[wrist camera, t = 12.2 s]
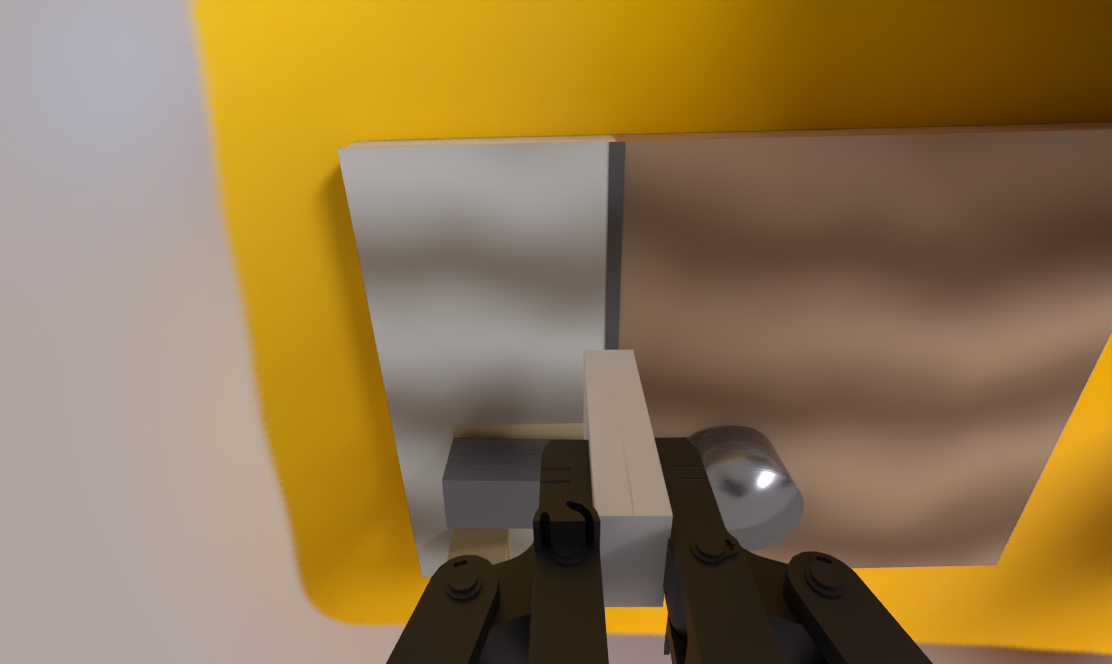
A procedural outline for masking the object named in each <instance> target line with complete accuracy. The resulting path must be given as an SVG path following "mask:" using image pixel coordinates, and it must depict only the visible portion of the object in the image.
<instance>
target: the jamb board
mask: <svg viewBox="0 0 1112 664" xmlns="http://www.w3.org/2000/svg"><path fill="white" fill-rule="evenodd" d="M337 150H338V155H339V160H340V166H341V171H342V176H343V181H344V186H345V191H346V196H347V201H348V206H349V211H350V216H351V221H352V226H353V231H354V236H355V241H356V246H357V251H358V256H359V262H360V267H361V272H362V277H363V282H364V287H365V292H366V297H367V302H368V307H369V312H370V317H371V322H372V327H373V332H374V337H375V342H376V347H377V352H378V358H379V363H380V368H381V373H382V378H383V383H384V388H385V393H386V398H387V403H388V408H389V413H390V418H391V423H392V428H393V433H394V438H395V443H396V449H397V454H398V459H399V464H400V469H401V474H402V479H403V484H404V489H405V494H406V499H407V504H408V509H409V514H410V519H411V524H412V529H413V534H414V539H415V545H416V550H417V555H418V560H419V565H420V570H421V575H422V577H432V576H433V574H434V573H435V572H436V571H437V569H438V568H439V567H440V566H441V565H442V564H444V563H445V562H447V561H448V560H450V559H451V558H455V557H458V556H461V555H478V556H480V557H483V558H485V559H488V560H489V561H490V563H491V564H492V565H494V564H497V563H500V562H504V561H507V560H510V559H512V558H515V557H517V556H519V555H520V554H522V553H523V552H525V551H526V550H527V549H528V548H529V547H530V546H531V545H532V543H533V541H534V538H533V529H501V528H446V517H445V507H444V497H443V487H442V478H443V474H444V470H445V467H446V463H447V459H448V456H449V452H450V448H451V444H452V441H453V438H512V439H584V350H633V351H634V356H635V360H636V364H637V368H638V372H639V377H640V381H641V385H642V389H643V393H644V397H645V402H646V406H647V410H648V414H649V418H650V422H651V427H652V431H653V435H654V438H673V437H686V438H687V439H688V440H689V441H695V440H696V439H697V438H698V437H700V436H701V435H703V434H705V433H707V432H709V431H711V430H714V429H717V428H721V427H726V426H744V427H749V428H752V429H755V430H757V431H759V432H761V433H763V434H764V435H765V436H766V437H767V438H768V439H769V440H770V441H771V443H772V444H773V446H774V448H775V449H776V451H777V453H778V455H779V456H780V458H781V460H782V461H783V463H784V465H785V467H786V468H787V470H788V472H789V473H790V475H791V477H792V479H793V480H794V482H795V484H796V485H797V487H798V489H799V491H800V492H801V494H802V497H803V500H804V512H803V516H802V518H801V520H800V522H799V524H798V525H797V527H796V528H795V529H794V530H793V531H792V532H791V533H790V534H789V535H788V536H787V537H786V538H784V539H783V540H781V541H780V542H778V543H776V544H774V545H772V546H769V547H767V548H764V549H761V550H756V551H750V552H751V553H753V554H756V555H759V556H762V557H765V558H768V559H772V560H776V561H780V562H783V563H787V564H788V563H789V562H790V560H791V559H792V557H793V556H795V555H797V554H799V553H801V552H808V551H817V552H821V553H825V554H829V555H831V556H833V557H835V558H837V559H839V560H841V561H842V562H844V563H845V564H846V565H847V566H849V567H850V568H879V567H927V566H975V565H996V564H997V562H998V560H999V558H1000V556H1001V554H1002V552H1003V550H1004V548H1005V546H1006V544H1007V542H1008V540H1009V538H1010V536H1011V534H1012V532H1013V530H1014V528H1015V526H1016V524H1017V522H1018V519H1019V517H1020V515H1021V513H1022V511H1023V509H1024V507H1025V505H1026V503H1027V501H1028V499H1029V497H1030V495H1031V493H1032V491H1033V489H1034V487H1035V485H1036V483H1037V481H1038V479H1039V477H1040V475H1041V473H1042V471H1043V469H1044V467H1045V465H1046V463H1047V461H1048V459H1049V457H1050V455H1051V453H1052V451H1053V449H1054V447H1055V445H1056V443H1057V441H1058V439H1059V437H1060V435H1061V433H1062V431H1063V429H1064V427H1065V425H1066V423H1067V421H1068V419H1069V417H1070V415H1071V413H1072V411H1073V409H1074V407H1075V405H1076V403H1077V401H1078V399H1079V397H1080V395H1081V393H1082V391H1083V389H1084V387H1085V385H1086V383H1087V381H1088V379H1089V377H1090V375H1091V373H1092V371H1093V369H1094V367H1095V365H1096V363H1097V361H1098V359H1099V357H1100V355H1101V352H1102V350H1103V348H1104V346H1105V344H1106V342H1107V340H1108V338H1109V336H1110V334H1111V332H1112V122H1094V123H1055V124H1015V125H976V126H936V127H897V128H857V129H818V130H778V131H739V132H699V133H660V134H620V135H581V136H541V137H502V138H462V139H423V140H384V141H357V142H354V143H351V144H349V145H346V146H343V147H341V148H338V149H337Z"/></svg>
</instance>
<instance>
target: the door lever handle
mask: <svg viewBox="0 0 1112 664" xmlns="http://www.w3.org/2000/svg"><path fill="white" fill-rule="evenodd" d="M550 440H584V439H512V438H453V441H452V444H451V448H450V452H449V456H448V459H447V463H446V467H445V470H444V474H443V478H442V487H443V497H444V507H445V517H446V528H501V529H533V519H534V516H535V512H536V511H537V510H538V509H539V493H540V474H541V456H542V452H543V450H544V449H545V447H546V446H547V444H548V443H549V441H550ZM690 442H691V443H692V444H693V445H694V446H695V447H696V448H697V449H698V450H699V452H700V455H701V458H702V461H703V464H704V469H705V470H706V473H707V476H708V481H710V484H711V487H712V490H713V493H714V496H715V499H716V502H717V505H718V508H719V510H720V513H721V516H722V519H723V522H724V525H725V527H726V529H727V531H728V532H729V533H730V534H731V535H732V536H733V537H735V538H736V539H737V541H738V542H739V544H740V546H741V547H743V548H744V549H746V550H748V551H756V550H761V549H764V548H767V547H769V546H772V545H774V544H776V543H778V542H780V541H781V540H783V539H784V538H786V537H787V536H788V535H789V534H790V533H791V532H792V531H793V530H794V529H795V528H796V527H797V525H798V524H799V522H800V520H801V518H802V516H803V512H804V500H803V497H802V494H801V492H800V491H799V489H798V487H797V485H796V484H795V482H794V480H793V479H792V477H791V475H790V473H789V472H788V470H787V468H786V467H785V465H784V463H783V461H782V460H781V458H780V456H779V455H778V453H777V451H776V449H775V448H774V446H773V444H772V443H771V441H770V440H769V439H768V438H767V437H766V436H765V435H764V434H763V433H761V432H759V431H757V430H755V429H752V428H749V427H744V426H726V427H721V428H717V429H714V430H711V431H709V432H707V433H705V434H703V435H701V436H700V437H698V438H697V439H696V440H695V441H690Z"/></svg>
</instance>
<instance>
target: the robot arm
mask: <svg viewBox="0 0 1112 664" xmlns="http://www.w3.org/2000/svg"><path fill="white" fill-rule="evenodd" d="M533 538H534V541H533V543H532V545H531V546H530V547H529V548H528V549H527V550H526V551H525V552H523V553H522V554H520V555H519V556H517V557H515V558H512V559H510V560H507V561H504V562H500V563H497V564H494V565H492V564H491V563H490V561H489V560H488V559H485V558H483V557H480V556H478V555H461V556H458V557H455V558H451V559H450V560H448V561H447V562H445V563H444V564H442V565H441V566H440V567H439V568H438V569H437V571H436V572H435V573H434V574H433V576H432V577H431V579H430V581H429V583H428V585H427V587H426V589H425V591H424V593H423V594H422V596H421V598H420V600H419V602H418V604H417V606H416V608H415V610H414V612H413V613H412V615H411V617H410V619H409V621H408V623H407V625H406V627H405V629H404V631H403V632H402V634H401V636H400V638H399V640H398V642H397V644H396V646H395V648H394V650H393V651H392V653H391V655H390V657H389V659H388V661H387V663H386V664H609V661H608V649H607V635H606V623H605V610H604V607H663V600H664V594H665V599H666V604H667V610H668V618H667V626H666V635H665V643H664V654H665V655H668V654H669V653H671V658H672V664H933V663H932V662H931V661H930V660H929V659H928V657H927V656H926V655H925V654H924V653H923V652H922V650H921V649H920V648H919V647H918V646H917V644H916V643H915V642H914V641H913V640H912V639H911V637H910V636H909V635H908V634H907V633H906V632H905V630H904V629H903V628H902V627H901V626H900V624H899V623H898V622H897V621H896V620H895V619H894V617H893V616H892V615H891V614H890V613H889V612H888V610H887V609H886V608H885V607H884V606H883V604H882V603H881V602H880V601H879V600H878V599H877V597H876V596H875V595H874V594H873V593H872V592H871V590H870V589H869V588H868V587H867V586H866V584H865V583H864V582H863V581H862V580H861V579H860V577H859V576H858V575H857V574H856V573H855V572H854V571H853V570H852V569H851V568H850V567H849V566H847V565H846V564H845V563H844V562H842V561H841V560H839V559H837V558H835V557H833V556H831V555H829V554H825V553H821V552H817V551H808V552H801V553H799V554H797V555H795V556H793V557H792V559H791V560H790V562H789V563H788V564H787V563H783V562H780V561H776V560H772V559H768V558H765V557H762V556H759V555H756V554H753V553H751V552H750V551H748V550H746V549H744V548H743V547H741V546H740V544H739V542H738V541H737V539H736V538H735V537H733V536H732V535H731V534H730V533H729V532H728V531H727V529H726V527H725V525H724V522H723V519H722V516H721V513H720V510H719V508H718V505H717V502H716V499H715V496H714V493H713V490H712V487H711V484H710V481H708V476H707V473H706V470H705V469H704V464H703V461H702V458H701V455H700V452H699V450H698V449H697V448H696V447H695V446H694V445H693V444H692V443H691V442H690V441H689V440H688V439H687V438H686V437H673V438H654V435H653V431H652V427H651V422H650V418H649V414H648V410H647V406H646V402H645V397H644V393H643V389H642V385H641V381H640V377H639V372H638V368H637V364H636V360H635V356H634V351H633V350H584V440H550V441H549V443H548V444H547V446H546V447H545V449H544V450H543V452H542V456H541V474H540V493H539V509H538V510H537V511H536V512H535V516H534V519H533Z"/></svg>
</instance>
